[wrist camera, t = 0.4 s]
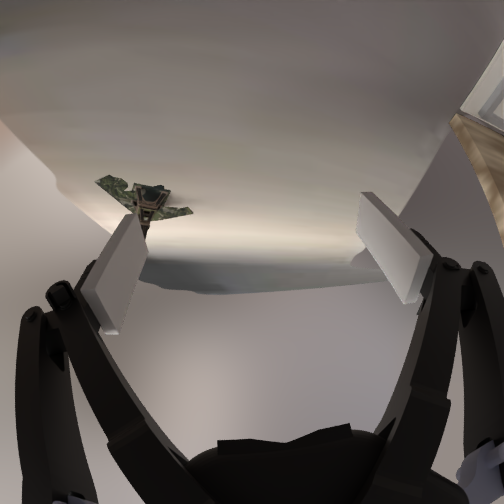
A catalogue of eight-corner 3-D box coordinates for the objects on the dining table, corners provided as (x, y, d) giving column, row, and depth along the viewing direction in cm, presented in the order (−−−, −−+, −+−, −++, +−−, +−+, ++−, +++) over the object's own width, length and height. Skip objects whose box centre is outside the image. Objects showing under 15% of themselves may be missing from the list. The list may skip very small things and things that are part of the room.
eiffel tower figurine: (93, 178, 35) (73, 263, 30) (146, 157, 33) (129, 253, 28) (146, 221, 49) (139, 292, 44) (195, 210, 46) (191, 287, 41)
